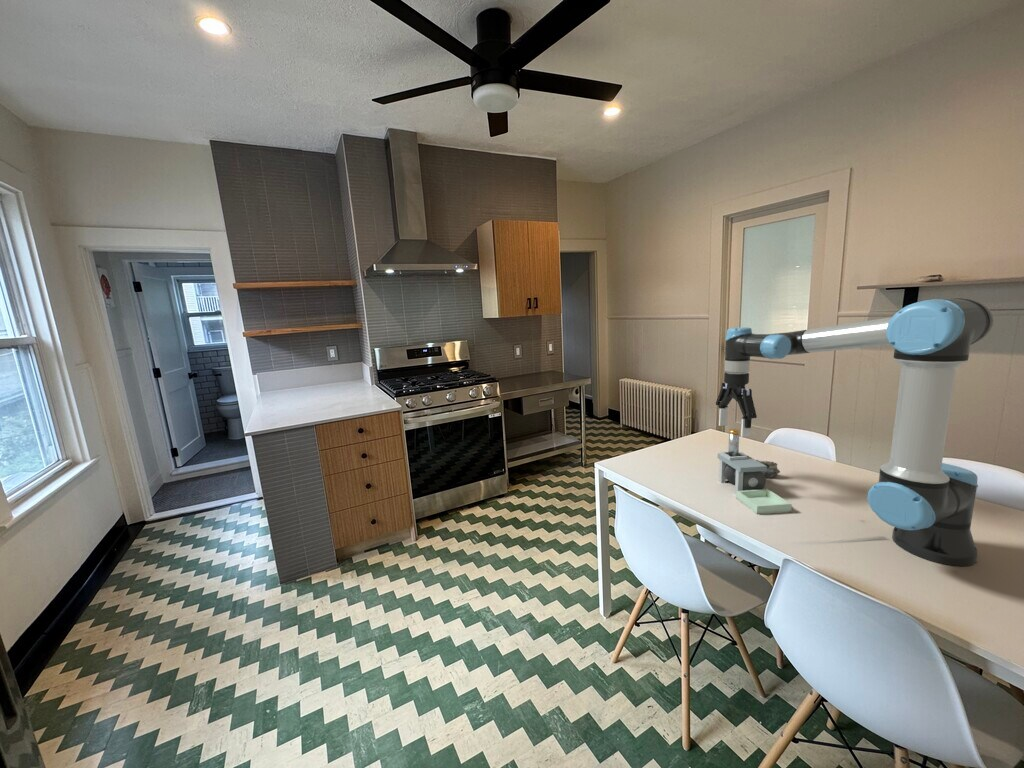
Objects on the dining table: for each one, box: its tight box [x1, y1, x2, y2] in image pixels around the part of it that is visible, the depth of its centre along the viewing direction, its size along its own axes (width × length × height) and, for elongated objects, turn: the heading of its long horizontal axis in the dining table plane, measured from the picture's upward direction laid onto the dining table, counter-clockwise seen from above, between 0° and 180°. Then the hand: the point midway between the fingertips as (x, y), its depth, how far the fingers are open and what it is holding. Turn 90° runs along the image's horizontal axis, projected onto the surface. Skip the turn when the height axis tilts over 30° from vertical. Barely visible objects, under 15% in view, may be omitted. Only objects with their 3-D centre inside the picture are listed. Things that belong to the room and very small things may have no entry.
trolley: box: [717, 451, 767, 495], centre depth 138 cm, size 14×10×12 cm
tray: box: [735, 488, 792, 515], centre depth 125 cm, size 11×11×3 cm
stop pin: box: [727, 428, 741, 457], centre depth 139 cm, size 3×3×10 cm
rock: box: [755, 459, 781, 479], centre depth 146 cm, size 11×6×10 cm
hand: (733, 430), depth 138 cm, fingers open, 13 cm apart
